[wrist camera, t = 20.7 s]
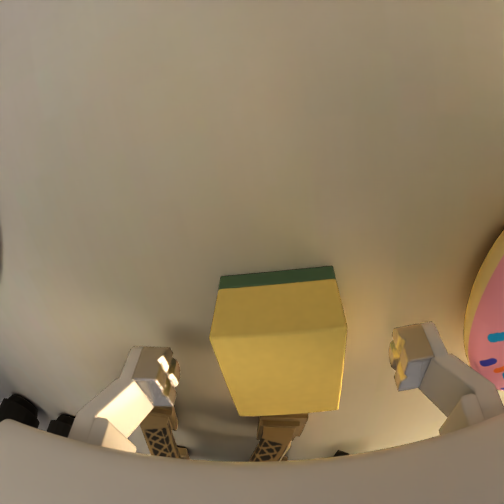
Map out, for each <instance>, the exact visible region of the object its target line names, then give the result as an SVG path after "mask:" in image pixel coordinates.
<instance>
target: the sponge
mask: <svg viewBox="0 0 504 504" xmlns="http://www.w3.org/2000/svg"><path fill="white" fill-rule="evenodd" d="M218 289H219V290H218V295H217V300H216V305H215V310H214V315H213V321H212V326H211V331H210V336H209V339H210V342H211V345H212V348H213V350H214V353H215V356H216V358H217V361H218V364H219V366H220V369H221V371H222V374H223V377H224V379H225V382H226V384H227V387H228V389H229V392H230V394H231V397H232V399H233V402H234V404H235V407H236V409H237V412H238V414H239V416H268V415H286V414H300V413H312V412H322V411H331V410H337V409H338V408H339V401H340V394H341V386H342V377H343V369H344V359H345V349H346V338H347V323H346V319H345V315H344V310H343V306H342V302H341V298H340V294H339V290H338V286H337V282H336V277H335V273H334V270H333V267H332V266H325V267H316V268H306V269H296V270H285V271H275V272H264V273H254V274H243V275H231V276H222V277H221V278H220V283H219V288H218Z"/></svg>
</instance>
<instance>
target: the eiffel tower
mask: <svg viewBox="0 0 504 504" xmlns="http://www.w3.org/2000/svg"><path fill="white" fill-rule="evenodd" d="M307 420H308V413H300V414H286V415H268V416H260V418H259V423H258V428H257V440H260V441H259V443H258V445H257V447H256V449H255V451H254V452H253V454H252V456H251V458H250V460H249V462H273V461H287V460H288V457H284V455H285V454H286V453H287V451H288V450H289V448H290V447H291V441H293V440H294V438H295V436H300V435H301V433H302V431H303V429H304V427H305V424H306V422H307ZM140 426H141V429H142V432H143V435H144V437H145V440H146V443H147V445H148V448H149V450H150V453H151V455H154V456H162V457H170V458H180V459H190V458H189V455H188V452H187V449H185V448H179V447H177V445H176V442H175V439H174V436H173V433H172V430H174V431H177V427H178V419H177V416H176V413H175V409H174V407H166V406H154V408H153V409H152V410H151V411H150V412H149V414H148V415H147V416H146V417H145V418H144V419H143V421H142V422H141V423H140Z"/></svg>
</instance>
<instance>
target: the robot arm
mask: <svg viewBox="0 0 504 504" xmlns="http://www.w3.org/2000/svg"><path fill="white" fill-rule="evenodd" d="M392 337H393V341H392V342H391V343H390V346H389V360H390V364H391V367H392V368H393V369H394V370H395V371H396V372H395V375H394V379H395V382H396V386H397V390H398V391H403V390H408V389H414V388H419V389H420V390H421V391H422V392H423V393H424V394H425V395H426V396H427V397H428V398H429V399H430V400H431V401H432V402H433V403H434V404H435V405H436V406H437V407H438V408H439V409H440V410H441V411H442V412H443V413H444V414H445V415H446V416H447V417H448V418H447V419H446V421H445V422H444V424H443V425H442V426H441V428H440V429H439V433H440V435H439V436H436V437H432V438H429V439H425V440H421V441H417V442H413V443H409V444H405V445H400V446H396V447H391V448H386V449H381V450H376V451H370V452H364V453H358V454H351V455H344V456H337V457H328V458H319V459H308V460H294V461H273V462H225V461H204V460H191V459H180V458H170V457H162V456H154V455H147V454H140V453H136V447H135V445H134V444H133V443H132V442H131V441H129V440H128V439H127V438H128V437H129V436H130V434H131V433H132V432H133V431H134V430H135V429H136V427H137V426H138V425H139V424H140V423H141V422H142V421H143V419H144V418H145V417H146V416H147V415H148V414H149V412H150V411H151V410H152V409H153V408H154V406H166V407H174V403H175V398H176V394H177V392H176V390H175V388H174V387H176V386H177V385H178V384H179V381H180V366H179V363H178V361H177V360H176V359H174V358H173V357H172V356H173V352H172V350H171V348H170V347H147V346H133V347H132V348H131V349H130V352H129V354H128V357H127V359H126V362H125V365H124V367H123V370H122V373H121V375H120V378H119V379H115V380H114V381H113V382H112V383H111V384H109V385H108V386H107V387H106V388H105V389H104V390H102V391H101V392H100V393H99V394H98V395H97V396H95V397H94V398H93V399H92V400H91V401H90V402H88V403H87V404H86V405H85V406H84V407H83V408H82V409H80V410H79V411H78V412H77V414H76V417H75V419H74V422H73V425H72V427H71V430H70V433H69V435H68V438H66V437H63V436H59V435H56V434H53V433H49V432H46V431H43V430H40V429H37V428H34V427H31V426H28V425H25V424H22V423H20V422H17V421H15V420H11V419H5V420H3V421H1V422H0V504H504V406H503V404H502V401H501V399H500V396H499V394H498V391H497V389H496V387H495V385H494V384H493V383H492V382H490V381H489V380H488V379H486V378H485V377H483V376H482V375H481V374H479V373H478V372H477V371H475V370H474V369H472V368H471V367H470V366H468V365H467V364H465V363H464V362H463V361H461V360H460V359H458V358H457V357H456V356H454V355H453V354H448V353H447V351H446V348H445V346H444V344H443V342H442V339H441V337H440V335H439V333H438V331H437V329H436V326H435V324H434V323H433V322H432V321H431V322H425V323H420V324H413V325H408V326H403V327H397V328H394V329H393V332H392Z"/></svg>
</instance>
